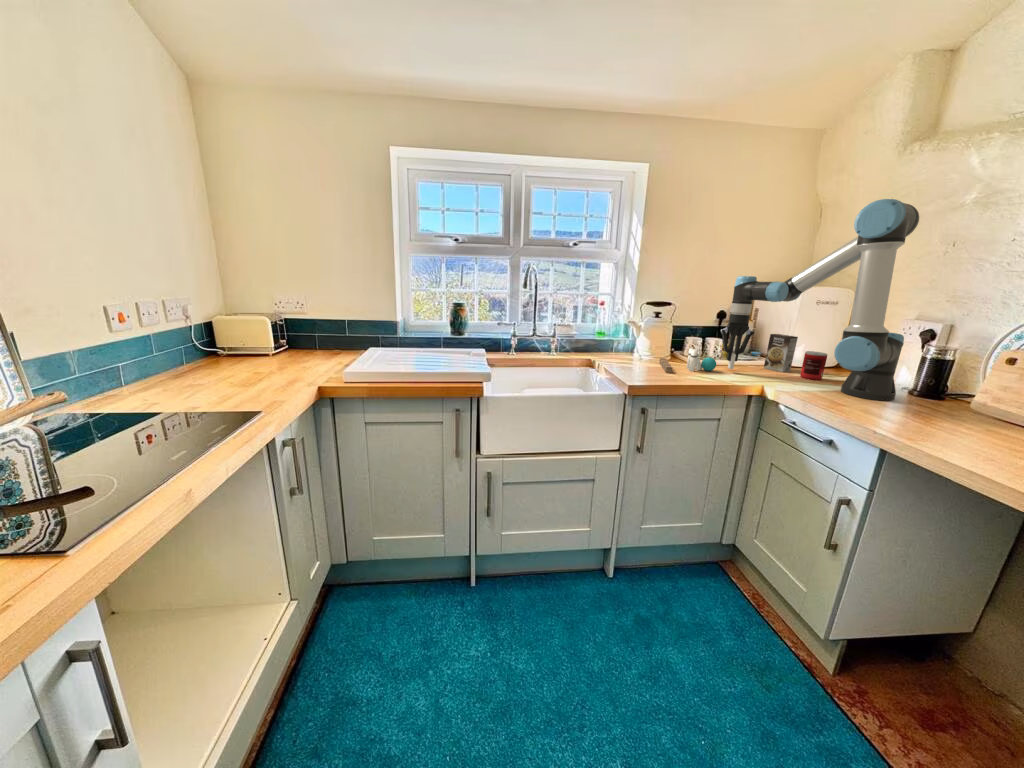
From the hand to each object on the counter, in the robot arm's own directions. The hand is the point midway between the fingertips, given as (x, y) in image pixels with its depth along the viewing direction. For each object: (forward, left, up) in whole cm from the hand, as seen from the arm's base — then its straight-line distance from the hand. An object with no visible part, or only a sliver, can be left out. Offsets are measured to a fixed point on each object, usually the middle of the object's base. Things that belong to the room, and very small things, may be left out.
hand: (730, 368), depth 179 cm
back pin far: (+3, +16, -2) cm, 17 cm away
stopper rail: (0, +27, -2) cm, 27 cm away
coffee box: (+15, -24, -2) cm, 28 cm away
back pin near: (-3, +16, -2) cm, 17 cm away
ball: (0, +9, +1) cm, 9 cm away
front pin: (0, +13, -1) cm, 13 cm away
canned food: (+1, -32, -2) cm, 32 cm away
